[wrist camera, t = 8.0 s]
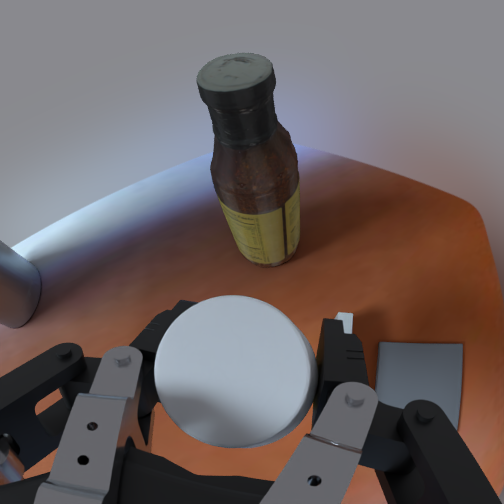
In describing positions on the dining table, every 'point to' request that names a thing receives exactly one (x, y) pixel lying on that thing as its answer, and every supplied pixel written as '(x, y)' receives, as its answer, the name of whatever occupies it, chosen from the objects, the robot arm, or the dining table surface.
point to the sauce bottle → (252, 158)
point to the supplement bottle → (235, 372)
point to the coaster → (420, 375)
